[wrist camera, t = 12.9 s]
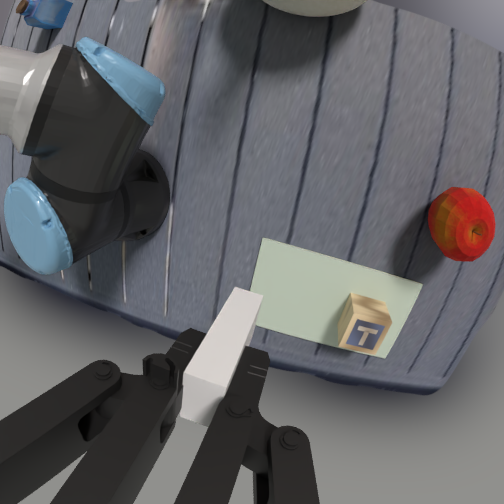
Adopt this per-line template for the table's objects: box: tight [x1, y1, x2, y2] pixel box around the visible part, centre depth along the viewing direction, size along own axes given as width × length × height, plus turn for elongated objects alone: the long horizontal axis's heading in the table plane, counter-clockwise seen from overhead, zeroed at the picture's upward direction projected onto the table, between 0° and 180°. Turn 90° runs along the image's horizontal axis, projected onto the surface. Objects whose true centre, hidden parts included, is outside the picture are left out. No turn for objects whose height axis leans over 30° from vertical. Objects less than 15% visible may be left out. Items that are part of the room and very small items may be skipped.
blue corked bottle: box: [16, 0, 73, 29], centre depth 31 cm, size 6×6×12 cm
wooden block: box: [337, 293, 392, 355], centre depth 41 cm, size 6×6×6 cm
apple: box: [428, 187, 495, 261], centre depth 31 cm, size 9×9×12 cm
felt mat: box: [250, 238, 423, 358], centre depth 45 cm, size 26×15×1 cm, turn 78°
